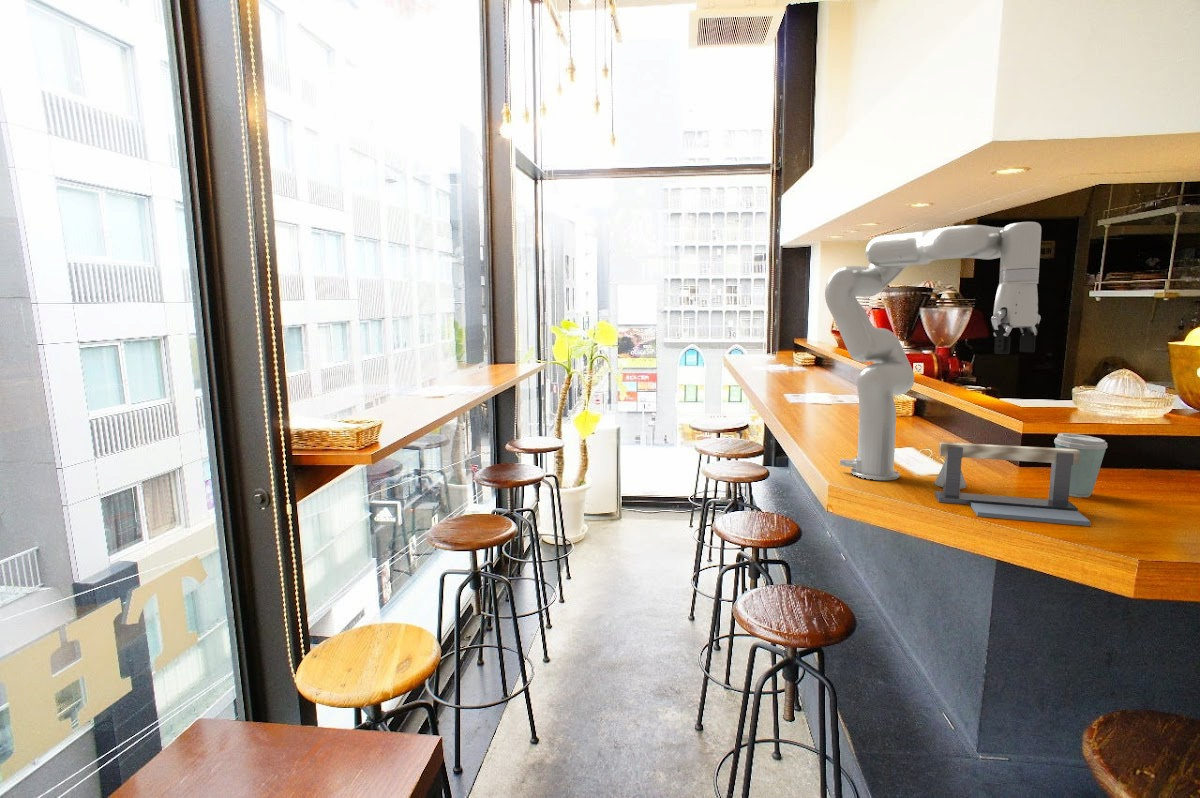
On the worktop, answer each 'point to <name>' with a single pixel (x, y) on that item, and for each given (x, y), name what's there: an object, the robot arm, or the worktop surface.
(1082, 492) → the disposable coffee cup
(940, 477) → the flask
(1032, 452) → the rail
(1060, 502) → the grey holder stand
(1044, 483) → the worktop surface
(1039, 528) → the worktop surface
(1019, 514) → the mat
